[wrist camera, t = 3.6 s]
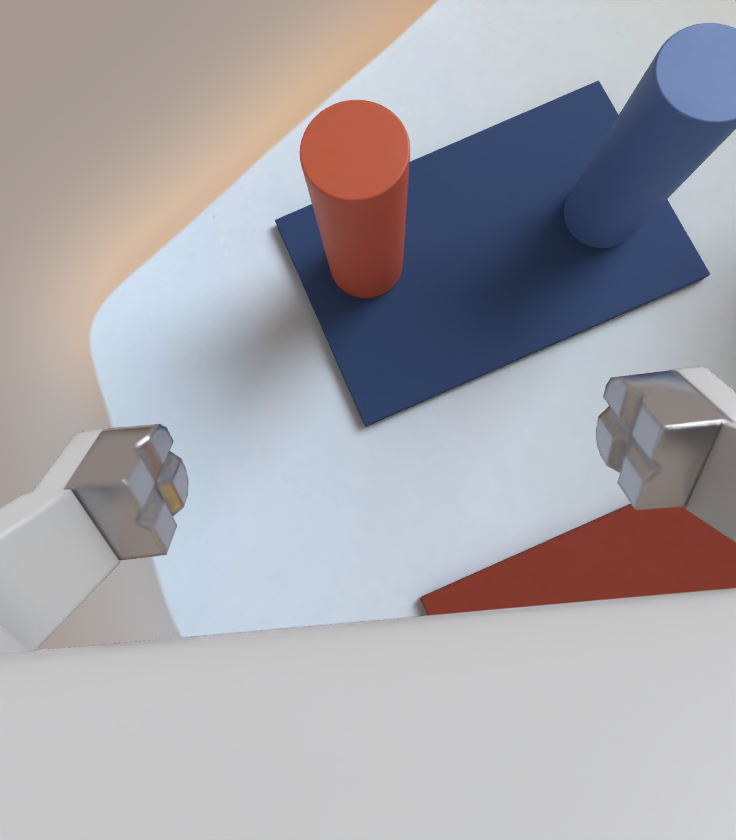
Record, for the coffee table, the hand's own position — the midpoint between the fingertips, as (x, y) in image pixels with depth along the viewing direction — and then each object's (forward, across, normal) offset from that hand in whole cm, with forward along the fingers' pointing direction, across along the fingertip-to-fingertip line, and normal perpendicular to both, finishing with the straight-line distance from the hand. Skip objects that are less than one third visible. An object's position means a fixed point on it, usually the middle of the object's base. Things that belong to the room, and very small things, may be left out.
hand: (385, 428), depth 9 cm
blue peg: (+23, -14, +3) cm, 27 cm away
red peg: (+22, 0, +4) cm, 22 cm away
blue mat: (+22, -7, +5) cm, 24 cm away
